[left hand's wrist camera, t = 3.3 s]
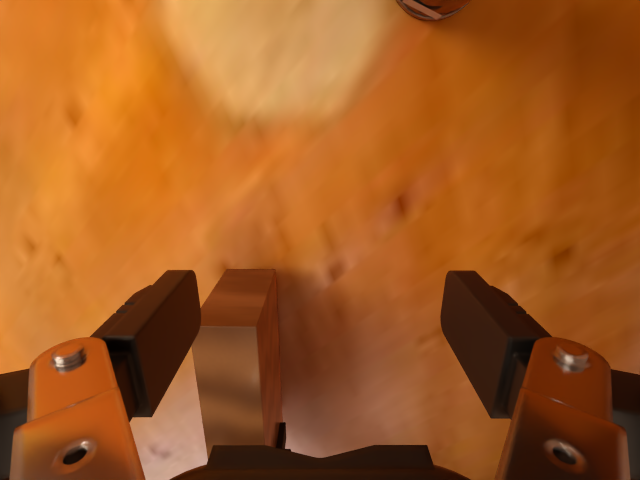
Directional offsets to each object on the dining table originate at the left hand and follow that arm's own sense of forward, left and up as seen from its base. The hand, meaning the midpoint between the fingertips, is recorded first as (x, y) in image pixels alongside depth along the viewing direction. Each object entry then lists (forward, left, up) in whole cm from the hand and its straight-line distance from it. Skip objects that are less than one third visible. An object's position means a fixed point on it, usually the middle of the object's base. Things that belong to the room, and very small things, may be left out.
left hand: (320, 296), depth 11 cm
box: (+24, -8, -27) cm, 38 cm away
